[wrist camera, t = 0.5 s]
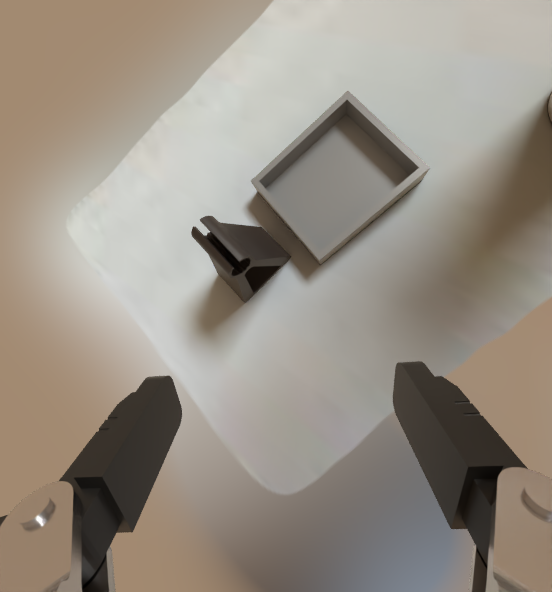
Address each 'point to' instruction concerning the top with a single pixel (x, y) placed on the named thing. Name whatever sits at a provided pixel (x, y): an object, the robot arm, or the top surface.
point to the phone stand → (241, 254)
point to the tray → (338, 177)
